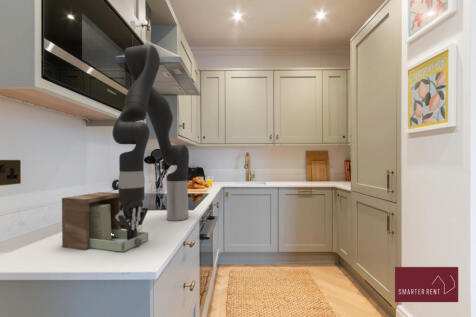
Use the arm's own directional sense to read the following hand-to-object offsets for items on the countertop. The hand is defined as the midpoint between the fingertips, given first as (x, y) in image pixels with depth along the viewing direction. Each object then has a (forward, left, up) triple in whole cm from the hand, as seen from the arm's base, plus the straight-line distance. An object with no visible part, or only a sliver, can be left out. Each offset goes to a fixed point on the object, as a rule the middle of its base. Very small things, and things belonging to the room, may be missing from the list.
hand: (132, 241), depth 81 cm
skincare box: (0, -13, -2) cm, 13 cm away
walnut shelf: (0, -16, -1) cm, 16 cm away
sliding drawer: (0, -7, -1) cm, 7 cm away
